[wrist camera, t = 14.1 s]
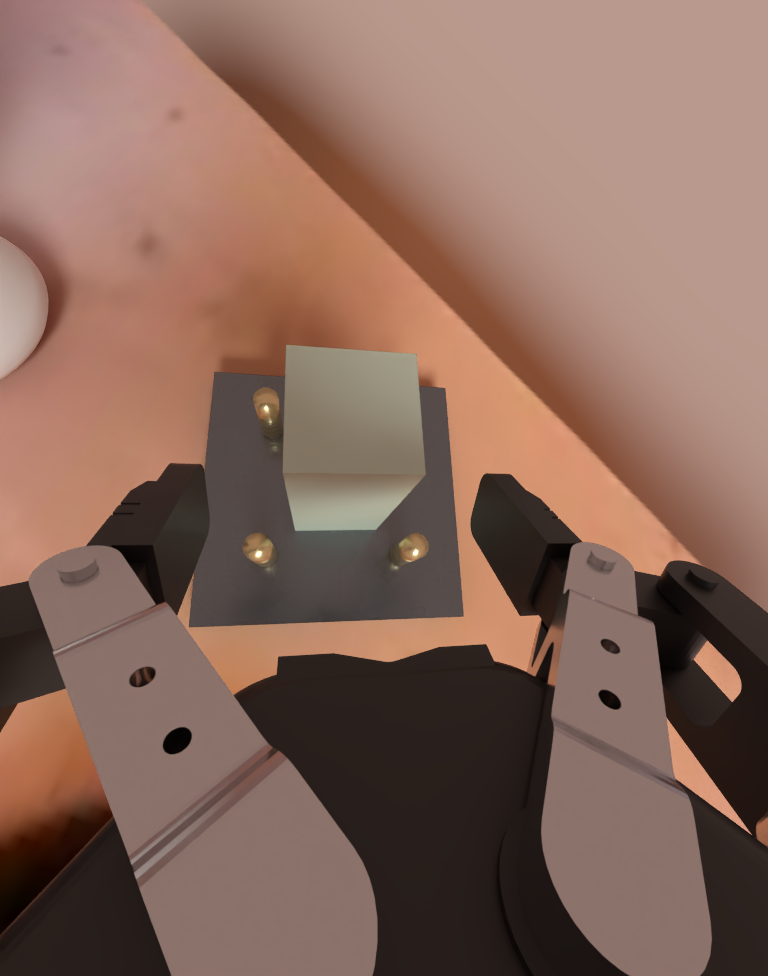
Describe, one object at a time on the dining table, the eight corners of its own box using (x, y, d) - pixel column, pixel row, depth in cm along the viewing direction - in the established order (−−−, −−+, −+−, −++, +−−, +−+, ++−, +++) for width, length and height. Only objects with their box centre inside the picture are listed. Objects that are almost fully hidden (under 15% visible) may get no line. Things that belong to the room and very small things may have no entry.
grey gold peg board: (197, 625, 20) (162, 632, 16) (220, 385, 24) (198, 332, 19) (454, 615, 23) (491, 619, 18) (438, 399, 27) (465, 355, 22)
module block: (295, 530, 21) (282, 472, 12) (296, 454, 22) (286, 344, 13) (375, 529, 22) (425, 474, 12) (373, 455, 23) (416, 353, 14)
